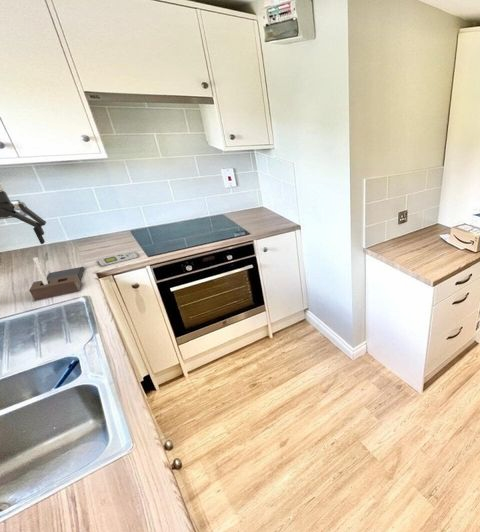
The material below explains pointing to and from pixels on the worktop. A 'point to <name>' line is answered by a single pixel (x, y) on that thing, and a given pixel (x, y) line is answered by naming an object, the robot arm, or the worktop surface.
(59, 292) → the slotted brown block
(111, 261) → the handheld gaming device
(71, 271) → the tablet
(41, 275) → the stylus
